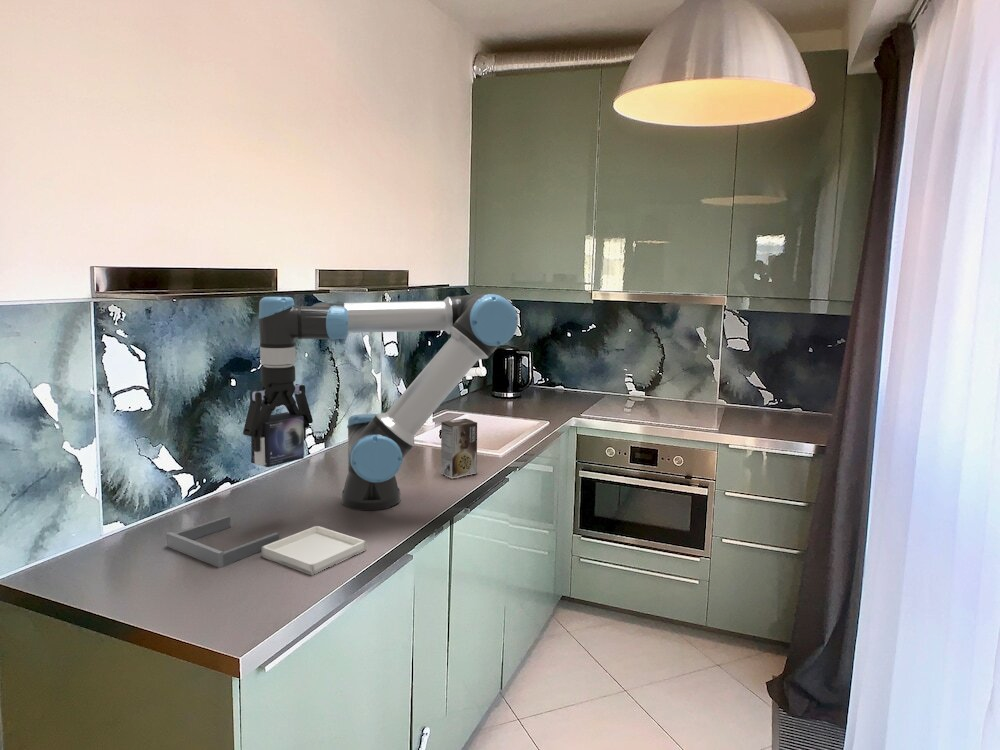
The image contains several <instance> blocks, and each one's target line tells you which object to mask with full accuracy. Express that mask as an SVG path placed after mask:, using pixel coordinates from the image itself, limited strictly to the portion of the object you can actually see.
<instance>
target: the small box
mask: <svg viewBox="0 0 1000 750" xmlns="http://www.w3.org/2000/svg"><path fill="white" fill-rule="evenodd" d="M261 437H265V466H264V467H265V468H271V467H275V466H279V465H282V464H287V463H290V462H295V461H297V460H299V461H300V460H302V459H305V457H304V456H305V440H304V435H303V416H300V415H299V416H296V415H292V414H290V413H289V411H288V412H287V411H286V412H285V411H284V412H280V413H275V414H271V416H270V418H269V420H268V422H265V423H264V431H263V433H262V436H261ZM250 439H251V440H250V441H251V445H250V446H251V447H250V449H251V456H250V457H251V460H250V462H251V464H254V465H256V464H255V455H254V451H252V438H251V437H250Z"/></svg>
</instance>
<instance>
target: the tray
mask: <svg viewBox="0 0 1000 750" xmlns="http://www.w3.org/2000/svg"><path fill="white" fill-rule="evenodd" d="M363 550H366V551H367V540H363V539H361V538H357V537H354V536H351V535H348V534H344V533H341V532H338V531H336V530H332V529H329V528H326V527H323V526H319V525H314V526H312V527H310V528H307V529H305V530H302V531H299V532H297V533H294V534H291V535H289V536H286V537H283V538H281V539H279V540H278V541H275V542H273V543H270V544H268V545H265V546H262V547H261V552H260V553H261V558H264V559H267V560H268V561H271V562H274V563H277V564H280V565H283V566H285V567H288V568H291V569H293V570H296V571H299V572H301V573H304V574H306V575H309V576H315V575H316V574H319V573H321V572H323V571H325V570H327V569H326V568H328V567H330V566H332V565H334V564H336V563H338V562H340V561H342V560H344V559H346V558H349V557H351V556H353V555H355V554H357V553H360V552H361V551H363ZM360 554H361V553H360ZM336 565H337V564H336ZM334 566H335V565H334ZM332 567H333V566H332ZM330 568H331V567H330ZM324 569H325V570H324ZM328 569H329V568H328ZM322 570H323V571H322ZM320 571H321V572H320ZM318 572H319V573H318ZM314 574H315V575H314Z"/></svg>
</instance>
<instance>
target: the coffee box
mask: <svg viewBox="0 0 1000 750" xmlns="http://www.w3.org/2000/svg"><path fill="white" fill-rule="evenodd" d="M440 427H441V428H440V429H441V433H440V434H441V435H440V436H441V437H440V441H441V442H440V447H441V448H440V474H441V473H443V474H445V475H447V476H450V477H457V476H461V475H466V474H471V473H478V422H477V421H474V420H472V419H469V418H461V419H460V418H459V419H453V420H447V421H446V420H445V421H441V426H440Z"/></svg>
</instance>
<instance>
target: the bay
mask: <svg viewBox="0 0 1000 750" xmlns="http://www.w3.org/2000/svg"><path fill="white" fill-rule="evenodd" d="M229 528H231V516H229V515H226V516H223V517H220V518H219V517H218V518H216V519H213V520H210V521H207V522H204V523H201V524H198V525H195V526H192V527H189V528H186V529H183V530H179V531H177V532H176V531H175V532H172V531H170V532H166V534H165V535H166V547H167V548H170V549H172V550H174V551H177V552H180V553H182V554H185V555H187V556H190V557H192V558H195V559H197V560H199V561H201V562H203V563H206V564H209V565H212V566H214V567H215V568H222V567H224V566H225V567H226V566H227V565H230V564H232V563H235V562H238V561H240V560H242V559H245V558H248V557H251V556H253V555H255V554H258V553H261V547H262V546H265V545H268V544H270V543H273V542H275V541H278V540H280V533H279V532H272V533H270V534H268V535H265V536H262V537H260V538H256V539H254V540H252V541H248V542H247V543H244V544H241V545H238V546H236V547H232V548H230V549H227V550H224V551H221V550H219V549H217V548H215V547H214V548H213V547H211V546H210V545H209V546H208V545H206V544H203V543H202V542H198V541H195V540H196V539H199V538H201V537H206V536H208V535H212V534H214V533H218V532H219V531H220V532H221V531H222V530H226V529H229Z"/></svg>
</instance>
